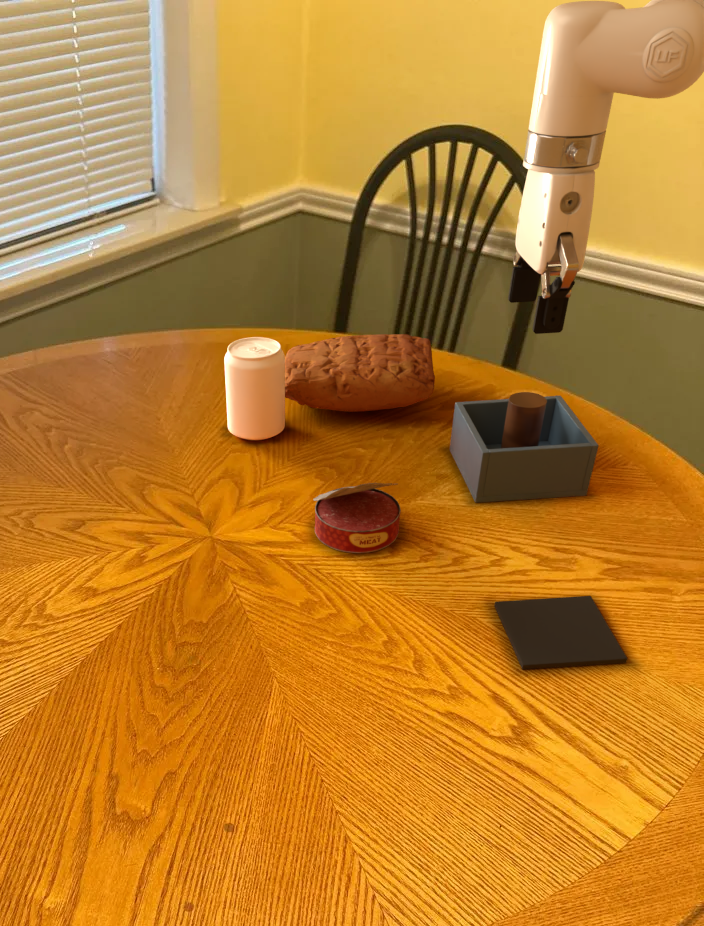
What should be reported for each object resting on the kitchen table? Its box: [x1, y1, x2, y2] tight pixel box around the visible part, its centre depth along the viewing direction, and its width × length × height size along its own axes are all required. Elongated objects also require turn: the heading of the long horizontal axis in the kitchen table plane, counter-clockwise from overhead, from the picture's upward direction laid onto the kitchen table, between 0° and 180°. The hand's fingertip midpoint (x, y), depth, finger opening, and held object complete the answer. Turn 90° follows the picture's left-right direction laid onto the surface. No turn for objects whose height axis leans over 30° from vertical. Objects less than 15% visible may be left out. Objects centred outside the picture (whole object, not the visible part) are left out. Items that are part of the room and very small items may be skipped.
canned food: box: [313, 482, 402, 554], centre depth 103 cm, size 11×10×10 cm
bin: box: [449, 395, 599, 504], centre depth 111 cm, size 14×14×7 cm
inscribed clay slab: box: [285, 333, 436, 412], centre depth 129 cm, size 22×17×8 cm
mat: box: [493, 595, 628, 670], centre depth 89 cm, size 10×10×1 cm
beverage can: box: [223, 336, 286, 441], centre depth 122 cm, size 8×8×12 cm
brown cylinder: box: [501, 391, 547, 448], centre depth 110 cm, size 4×4×9 cm
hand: (533, 316), depth 102 cm, fingers open, 9 cm apart
